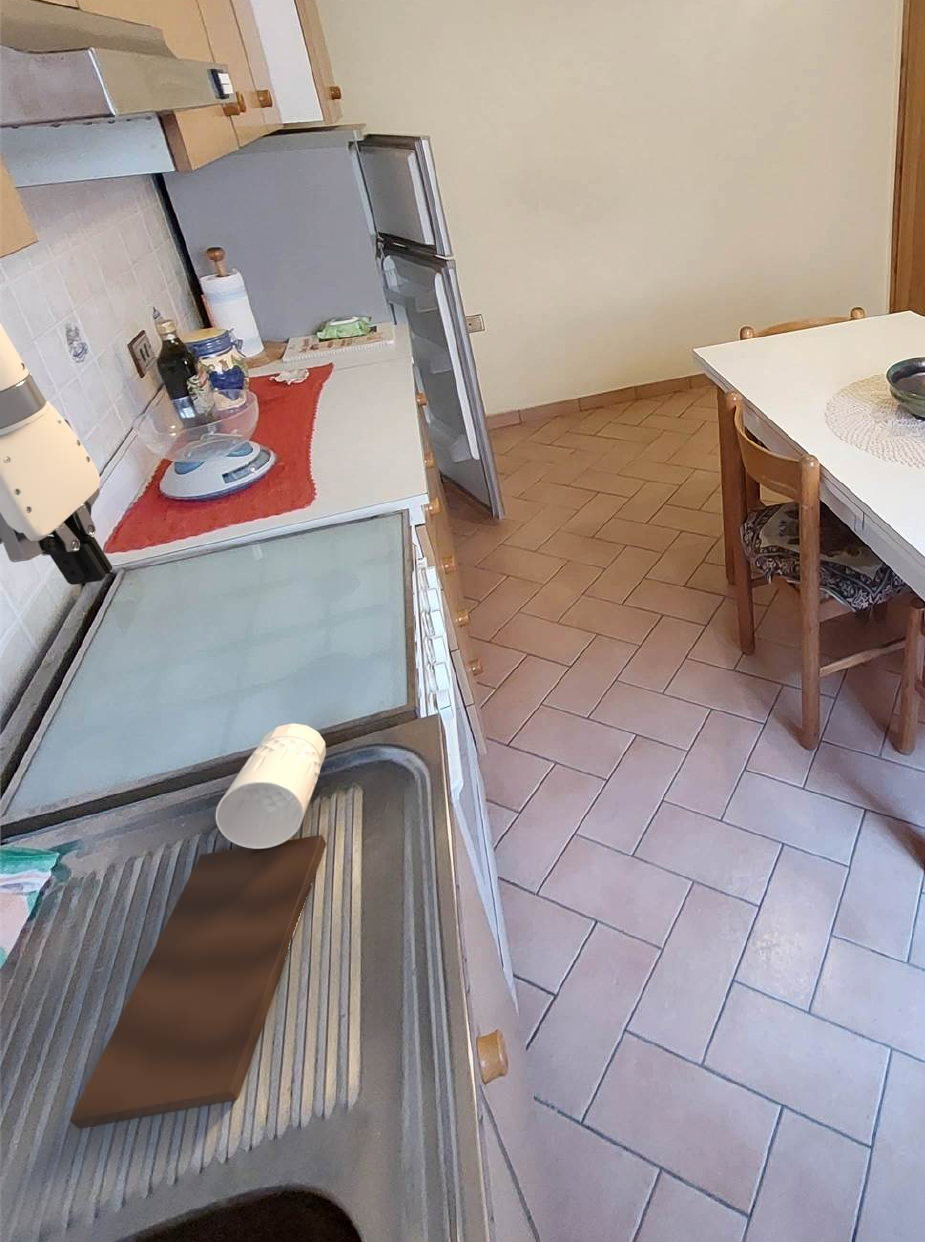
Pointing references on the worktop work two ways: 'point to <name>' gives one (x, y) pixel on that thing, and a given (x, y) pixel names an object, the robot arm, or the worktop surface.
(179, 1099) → the board
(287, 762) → the white cup
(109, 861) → the worktop surface
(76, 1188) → the worktop surface
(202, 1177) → the worktop surface
